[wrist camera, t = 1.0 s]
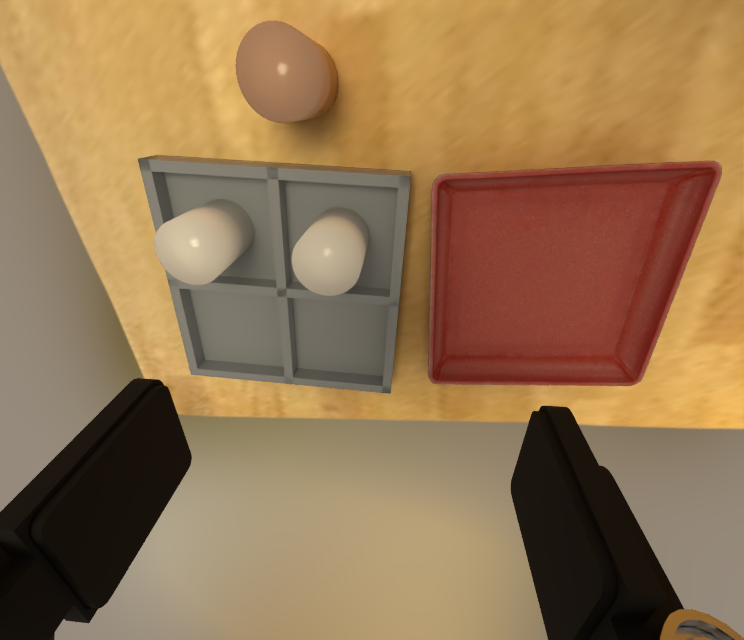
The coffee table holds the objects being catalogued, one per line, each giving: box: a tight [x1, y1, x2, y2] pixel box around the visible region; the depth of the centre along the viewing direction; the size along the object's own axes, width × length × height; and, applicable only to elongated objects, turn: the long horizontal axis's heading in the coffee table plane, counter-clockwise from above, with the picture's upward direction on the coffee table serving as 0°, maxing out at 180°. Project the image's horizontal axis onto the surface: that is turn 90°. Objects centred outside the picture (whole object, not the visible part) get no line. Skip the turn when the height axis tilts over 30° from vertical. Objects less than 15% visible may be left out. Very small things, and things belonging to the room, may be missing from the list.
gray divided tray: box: [138, 155, 411, 393], centre depth 32 cm, size 19×19×2 cm
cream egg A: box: [154, 199, 255, 285], centre depth 28 cm, size 5×5×6 cm
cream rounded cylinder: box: [292, 207, 370, 296], centre depth 27 cm, size 5×5×6 cm
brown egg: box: [236, 21, 338, 123], centre depth 23 cm, size 5×5×6 cm
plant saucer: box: [428, 161, 722, 386], centre depth 30 cm, size 18×18×3 cm
